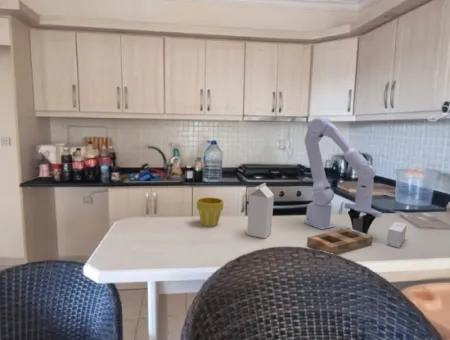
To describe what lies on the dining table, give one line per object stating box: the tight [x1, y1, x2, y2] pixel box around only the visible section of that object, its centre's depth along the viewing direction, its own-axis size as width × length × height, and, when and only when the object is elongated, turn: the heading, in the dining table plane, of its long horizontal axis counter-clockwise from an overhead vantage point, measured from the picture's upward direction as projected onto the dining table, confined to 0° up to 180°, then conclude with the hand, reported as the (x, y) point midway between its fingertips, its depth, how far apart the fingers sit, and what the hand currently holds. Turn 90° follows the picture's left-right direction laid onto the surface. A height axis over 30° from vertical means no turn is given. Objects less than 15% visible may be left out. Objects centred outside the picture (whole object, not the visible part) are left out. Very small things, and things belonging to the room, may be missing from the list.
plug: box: [351, 215, 368, 235], centre depth 123 cm, size 4×4×7 cm
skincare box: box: [386, 221, 407, 248], centre depth 117 cm, size 6×4×12 cm
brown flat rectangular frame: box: [306, 227, 374, 256], centre depth 111 cm, size 10×22×3 cm, turn 123°
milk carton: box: [246, 182, 275, 239], centre depth 117 cm, size 7×7×19 cm
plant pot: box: [196, 196, 224, 228], centre depth 126 cm, size 10×10×10 cm
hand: (359, 230), depth 123 cm, fingers closed on plug, 4 cm apart
